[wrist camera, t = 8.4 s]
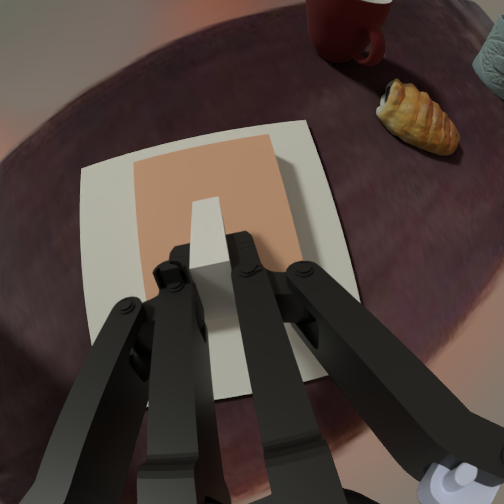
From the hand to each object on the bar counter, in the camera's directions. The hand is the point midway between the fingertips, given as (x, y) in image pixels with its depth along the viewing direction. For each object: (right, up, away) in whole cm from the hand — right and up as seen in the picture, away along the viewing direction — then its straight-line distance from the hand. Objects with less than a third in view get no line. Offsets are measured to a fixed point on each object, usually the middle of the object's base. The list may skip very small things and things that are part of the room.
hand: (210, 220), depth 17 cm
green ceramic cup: (+41, +26, +11) cm, 50 cm away
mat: (-1, -2, +4) cm, 5 cm away
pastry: (+18, +11, +8) cm, 23 cm away
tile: (+1, -5, +2) cm, 5 cm away
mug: (+12, +19, +9) cm, 24 cm away
